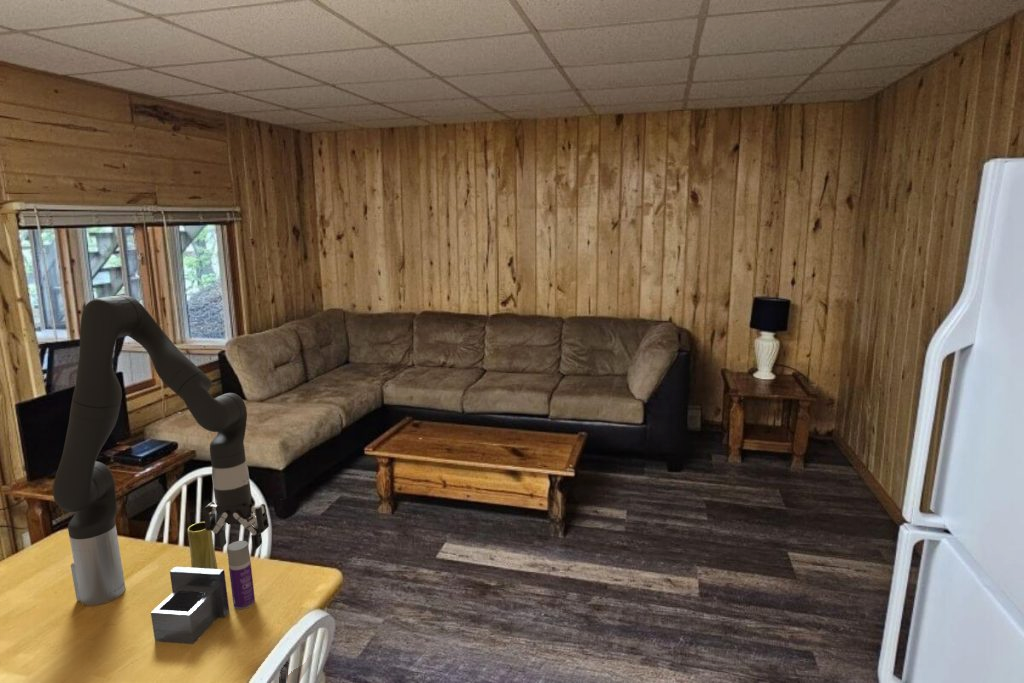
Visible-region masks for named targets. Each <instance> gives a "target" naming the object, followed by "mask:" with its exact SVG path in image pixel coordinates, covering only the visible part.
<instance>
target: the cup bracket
mask: <svg viewBox="0 0 1024 683" xmlns="http://www.w3.org/2000/svg"><path fill="white" fill-rule="evenodd" d="M225 573H226V572H225V569H221V568H218V569H208V568H192V567H190V566H189V567H187V566H175V567H173V568H171V570H170V571H169V575H170V584H171V589H172V593H170V595H168V596H167V597H166V598H165V599H164V600H163V601H162V602H160V604H158V605H157V606H156V607H155V608H154V609H153V610H152V611H151V612H150V618H151V623H152V630H153V636H154V638H153V639H154V642H160V643H172V644H173V643H174V644H175V643H176V644H185V645H186V644H187V645H194V644H195V643H196V642H197V641H199V639H200V638H201V637H202V636H203V634H205V632H207V630H208V629H210V627H211V626H212V625H213V624H214V623H215V621H217V620H218V619H225V618H226V617H227V616H228V615H229V614H230V609H229V608H230V606H229V598H228V597H229V596H228V591H227V582H226V574H225Z"/></svg>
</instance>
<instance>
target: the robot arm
mask: <svg viewBox="0 0 1024 683" xmlns="http://www.w3.org/2000/svg"><path fill="white" fill-rule="evenodd" d="M79 330H80V331H79V332H80V333H79V355H78V356H79V357H78V362H77V371H76V378H75V385H74V389H73V394H72V399H71V403H70V404H71V405H70V410H69V411H70V412H69V419H68V426H67V430H66V434H65V441H64V446H63V451H62V455H61V458H60V462H59V464H58V468H57V470H56V474H55V476H54V481H53V485H52V496H53V499H54V502H55V504H56V505H57V506H58V507H59V508H60V509H61V510H62V511H64V512H67V513H74V512H75V513H74V515H73V516H72V517H71V519H70V521H69V522H68V525H67V530H68V536H69V542H70V546H71V547H70V549H71V553H72V559H73V562H72V563H71V564H70V568H71V569H70V571H71V574H72V575H71V576H72V582H73V586H74V592H75V598H76V599H75V600H76V601H77V600H78V602H80V603H81V604H82V605H84V606H98V605H99V606H100V605H102V604H106V603H108V602H112V601H114V600H115V599H117V598H118V597H120V596H121V595H123V593H124V592H125V590H126V584H125V582H126V581H125V576H124V570H123V569H124V568H123V563H122V562H123V561H122V556H121V550H120V544H119V538H118V532H117V525H116V524H117V523H116V516H117V514H118V512H117V511H118V502H117V493H116V484H115V480H114V476H113V473H112V472H111V470H110V468H109V467H108V465H106V464H104V463H103V462H101V461H97V459H98V456H99V454H100V451H101V450H102V448H103V446H104V445H105V444H106V442H107V440H108V439H109V437H110V435H111V433H112V431H113V430H114V428H115V426H116V424H117V421H118V418H119V414H120V410H121V404H122V398H123V392H122V386H121V384H120V381H119V379H118V377H117V374H116V373H115V370H114V368H113V355H114V350H115V345H116V342H117V340H118V339H119V338H121V339H122V338H125V337H129V338H131V339H132V340H134V342H137V343H138V344H139V345H140V346H142V347H143V349H144V350H145V351H146V352H147V354H148V355H149V357H150V360H151V362H152V365H153V367H154V370H155V372H156V374H157V375H158V377H159V379H160V380H161V381H162V383H164V384H165V385H166V386H167V387H168V388H169V389H170V390H171V391H172V392H174V393H175V394H176V395H177V396H179V398H181V400H183V402H184V404H185V405H186V407H187V409H188V411H189V412H190V413H191V416H192V417H193V418H194V420H195V421H196V423H197V424H198V425H199V426H200V427H202V428H203V429H205V430H207V431H209V432H213V433H217V435H216V436H215V437H214V438H213V439H212V441H210V444H209V453H210V454H209V456H210V462H211V463H210V464H211V478H212V487H213V493H214V501H211V502H210V503H208V504H207V505H206V506H204V508H203V514H204V516H203V517H204V522H205V529H206V530H207V531H209V530H211V531H212V533H213V534H214V538H215V545H216V546H217V547H218V548H220V549H222V548H223V547H224V546H226V544H227V538H226V530H225V527H226V524H227V525H237V526H241V525H242V527H244V528H243V529H247V530H248V531H249V532H250V533H251V536H250V537H251V538H250V539H251V544H252V549H253V550H258V549H259V547H260V546H261V545H262V544H263V536H262V534H263V533H264V532H265V531H266V530H267V529H268V528H269V527H270V523H269V519H268V512H267V506H266V504H264V503H261V504H260V505H253V503H252V491H251V490H252V489H251V483H250V482H251V481H250V475H249V474H250V473H249V467H248V464H247V460H246V452H245V444H244V443H245V442H244V441H245V436H246V429H247V428H246V427H247V419H248V411H247V406H246V404H245V401H244V400H243V398H242V397H241V396H240V395H238V394H237V393H234V392H227V393H224V394H221V395H218V396H216V397H213V396H212V395H211V393H210V392H209V391H210V390H211V388H212V385H213V384H212V380H211V379H210V377H209V376H208V375H207V374H206V373H204V372H203V370H201V369H200V368H199V367H198V366H197V365H196V364H195V363H194V362H193V361H191V360H190V359H189V358H188V357H187V356H186V355H185V354H184V353H183V352H182V351H181V350H180V349H179V348H178V347H177V346H176V345H175V344H174V342H173V341H172V340H171V339H170V337H169V336H168V335H167V334H166V332H165V331H164V330H163V328H161V327H160V325H159V324H158V322H156V320H155V319H154V317H153V316H152V315H151V313H149V311H148V310H147V309H146V308H145V306H144V305H143V304H142V303H141V302H140V301H139V300H137V299H136V298H135V297H133V296H130V295H126V294H125V295H124V294H122V295H119V294H118V295H111V296H102V297H98V298H94V299H92V300H90V301H88V303H86V304H85V305H84V308H83V310H82V313H81V318H80V329H79ZM216 513H217V514H218V516H220V517H219V519H218V521H217V516H216ZM248 519H249V521H247V520H248Z"/></svg>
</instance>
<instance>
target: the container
mask: <svg viewBox="0 0 1024 683" xmlns="http://www.w3.org/2000/svg"><path fill="white" fill-rule="evenodd" d="M226 549H227V559H228V561H227V562H228V571H229V579H230V580H229V581H230V587H231V588H230V589H231V596H232V604H233V608H234V609H236V610H246V609H249V607H252V606H253V605H254V604H255V601H256V600H255V599H256V598H255V597H256V596H255V590H254V589H255V588H254V579H253V572H252V564H251V563H252V562H251V561H252V560H251V556H250V548H249V542H248V541H246V540H237V541H233V542H231V543H230V544H228V545H227V548H226Z"/></svg>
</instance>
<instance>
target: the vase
mask: <svg viewBox="0 0 1024 683" xmlns="http://www.w3.org/2000/svg"><path fill="white" fill-rule="evenodd" d="M187 539H188V546H189V553H190V564H191V567H190V568H208V569H219V568H218V563H217V559H216V558H217V557H216V551H215V546H214V539H213V531H211V530H209V531H207V530H206V529H205V521H200V522H196V523H194V524H191V525H189V526H188V528H187Z"/></svg>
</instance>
